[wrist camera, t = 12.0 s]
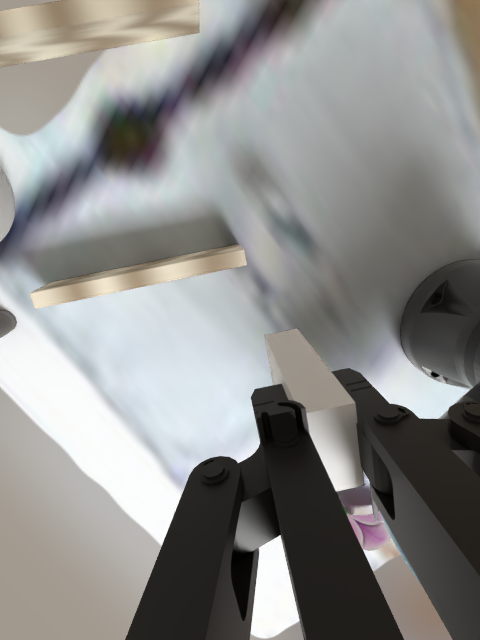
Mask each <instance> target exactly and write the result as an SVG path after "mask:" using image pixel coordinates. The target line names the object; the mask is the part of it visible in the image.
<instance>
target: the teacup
mask: <svg viewBox="0 0 480 640" xmlns="http://www.w3.org/2000/svg"><path fill="white" fill-rule="evenodd" d="M14 216H15V200H14V194H13V191H12V188H11V185H10V183H9V181H8V179H7V177H6V175H5V173H4V172H3V170H2V169H1V168H0V242H1V241H2V240H3V238H4V237H5V236H6V235H7V233H8V232H9V230H10V228H11V226H12V223H13V220H14Z"/></svg>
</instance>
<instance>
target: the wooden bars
mask: <svg viewBox="0 0 480 640" xmlns="http://www.w3.org/2000/svg"><path fill="white" fill-rule="evenodd" d="M194 33H199V0H61V1H55V2H49V3H44V4H38V5H32V6H26V7H20V8H14V9H8V10H2V11H0V67H5V66H11V65H17V64H23V63H28V62H34V61H39V60H45V59H51V58H57V57H63V56H68V55H74V54H80V53H86V52H91V51H97V50H103V49H108V48H114V47H120V46H126V45H131V44H137V43H143V42H148V41H154V40H160V39H166V38H171V37H177V36H183V35H188V34H194ZM245 265H247V263H246V258H245V252H244V249H243V248H242V247H241V246H240V245H239V244H236V245H231V246H226V247H221V248H216V249H211V250H206V251H202V252H197V253H192V254H187V255H182V256H177V257H172V258H167V259H162V260H157V261H153V262H148V263H143V264H138V265H133V266H128V267H123V268H118V269H113V270H108V271H104V272H99V273H94V274H89V275H84V276H79V277H74V278H69V279H64V280H59V281H55V282H50V283H48V284H47V285H45V286H43V287H41V288H39V289H37V290H35V291H33V292H31V293H29V294H30V296H31V299H32V302H33V304H34V307H35V309H37V308H42V307H47V306H52V305H57V304H62V303H66V302H71V301H76V300H81V299H86V298H91V297H95V296H100V295H105V294H110V293H115V292H120V291H124V290H129V289H134V288H139V287H144V286H149V285H153V284H158V283H163V282H168V281H173V280H178V279H182V278H187V277H192V276H197V275H202V274H206V273H211V272H216V271H221V270H226V269H231V268H235V267H240V266H245ZM16 323H17V321H16V318H15V316H14V315H13V314H12V313H10V312H9V311H6V310H0V338H1V337H3V336H4V335H6V334H7V333H9V332H10V331H12V330H13V329H14V328H15V327H16Z"/></svg>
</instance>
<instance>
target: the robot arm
mask: <svg viewBox="0 0 480 640" xmlns="http://www.w3.org/2000/svg"><path fill="white" fill-rule="evenodd" d="M264 336H265V341H266V346H267V352H268V357H269V363H270V368H271V374H272V379H273V386H268V387H263V388H259V389H255V390H254V392H253V394H252V396H251V400H252V405H253V410H254V414H255V419H256V424H257V429H258V434H259V438H260V445H259V448H258V449H257V451H256V452H255V453H254V454H253V455H252V456H251V457H249V458H247V459H246V460H244V461H242V462H240V463H237V461H236V460H234V459H232V458H230V457H223V456H219V457H213V458H210V459H207V460H205V461H203V462H201V463H200V464H199V465H198V466H196V467H195V468H194V469H193V471H192V472H191V474H190V476H189V478H188V481H187V483H186V486H185V488H184V491H183V494H182V496H181V499H180V501H179V504H178V506H177V509H176V511H175V514H174V517H173V519H172V522H171V524H170V527H169V529H168V532H167V534H166V537H165V539H164V542H163V545H162V547H161V550H160V552H159V555H158V557H157V560H156V562H155V565H154V568H153V570H152V573H151V576H150V578H149V581H148V583H147V586H146V588H145V591H144V593H143V596H142V598H141V601H140V604H139V606H138V608H137V611H136V613H135V616H134V619H133V621H132V624H131V626H130V629H129V632H128V635H127V636H126V639H125V640H250V632H251V622H252V613H253V604H254V595H255V586H256V577H257V568H258V559H259V547H260V546H262V545H264V544H266V543H267V542H269V541H271V540H272V539H274V538H276V537H278V536H279V535H281V539H282V543H283V548H284V552H285V557H286V561H287V566H288V570H289V574H290V579H291V583H292V588H293V592H294V597H295V601H296V606H297V610H298V615H299V619H300V624H301V628H302V632H303V637H304V640H404V639H403V636H402V634H401V632H400V630H399V628H398V626H397V623H396V621H395V619H394V617H393V615H392V613H391V610H390V608H389V606H388V604H387V602H386V600H385V597H384V595H383V593H382V591H381V588H380V586H379V584H378V582H377V580H376V578H375V575H374V573H373V571H372V569H371V567H370V565H369V562H368V560H367V558H366V556H365V554H364V551H363V549H362V547H361V545H360V543H359V541H358V538H357V536H356V534H355V532H354V530H353V528H352V525H351V523H350V521H349V519H348V517H347V515H346V512H345V510H344V508H343V506H342V504H341V501H340V499H339V497H338V495H337V493H336V491H341V490H345V489H350V488H354V487H359V486H363V485H364V476H363V471H364V472H365V474H366V476H367V477H368V479H369V481H370V489H371V499H372V508H373V515H374V519H375V521H378V520H379V514H378V510H379V511H380V514H381V517H382V519H383V521H384V523H385V526H386V528H387V530H388V532H389V534H390V536H391V538H392V539H393V541H394V543H395V545H396V547H397V548H398V550H399V552H400V553H401V555H402V557H403V558H404V560H405V562H406V563H407V565H408V566H409V567H410V569H411V571H412V572H413V573H414V575H415V577H416V578H417V579H418V581H419V582H420V584H421V585H422V586H423V588H424V590H425V592H426V593H427V595H428V597H429V599H430V600H431V602H432V604H433V606H434V607H435V609H436V611H437V612H438V614H439V616H440V618H441V620H442V621H443V623H444V625H445V627H446V628H447V630H448V632H449V633H450V635H451V637H452V639H453V640H480V260H463V261H458V262H455V263H452V264H449V265H447V266H445V267H443V268H441V269H439V270H437V271H436V272H434V273H433V274H432V275H430V276H429V277H428V278H427V279H426V280H425V281H424V282H423V283H422V284H421V285H420V286H419V287H418V288H417V289H416V291H415V292H414V294H413V295H412V297H411V298H410V300H409V302H408V304H407V306H406V308H405V311H404V314H403V318H402V323H401V341H402V346H403V349H404V351H405V354H406V356H407V357H408V359H409V360H410V361H411V363H412V364H413V365H414V366H415V367H417V368H418V369H419V370H421V371H422V372H423V373H425V374H426V375H427V376H429V377H431V378H432V379H434V380H437V381H439V382H442V383H446V384H450V385H454V386H458V387H462V388H466V389H470V391H468V392H467V393H466V394H465V395H464V396H462V397H461V398H460V399H459V400H458V401H457V402H456V403H455V404H454V405H452V406H451V407H449V410H448V411H446V412H445V413H444V414H443V415H442V416H441V417H440V418H439V419H419V418H418V417H417V416H416V415H415V414H414V413H413V412H412V411H410V410H409V409H407V408H406V407H403V406H400V405H396V404H389V403H388V402H387V401H386V400H385V398H384V397H383V396H382V395H381V394H380V393H379V392H378V391H377V390H376V389H375V388H374V387H372V385H371V384H370V383H369V382H368V381H367V380H366V379H365V378H364V377H363V375H362V374H361V373H359V372H357V371H354V370H352V369H350V368H347V369H342V370H338V371H333V372H331V371H330V369H329V368H328V367H327V366H326V364H325V363H324V362H323V360H322V359H321V358H320V357H319V355H318V354H317V353H316V351H315V350H314V349H313V348H312V346H311V345H310V344H309V342H308V341H307V340H306V339H305V337H304V336H303V335H302V333H301V332H300V331H299V330H298V328H296V329H292V330H287V331H282V332H277V333H273V334H268V335H264Z"/></svg>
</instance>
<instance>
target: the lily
mask: <svg viewBox="0 0 480 640" xmlns="http://www.w3.org/2000/svg"><path fill="white" fill-rule="evenodd" d="M343 508H344V507H343ZM344 510H345V512H346V514H347V515H348V519H349V521H350V523H351V525H352V528H353V530H354V532H355V534H356V536H357V538H358V541H359V543H360V545H361V547H362V549H364V550H368V551H369V550H375V549H378V548H381V547H383V546H384V545H386V544H387V543H388V542H389V540H390V534H389V532H388V530H387V528H386V526H385V524H384V523H383V522H382V521H383V519H382V517H381V514H380V511H379V510H378V514H379V520H378V521H375V519H374V515H373V514H368V515H350V514H349V513H348V512H347V510H346V509H345V508H344Z"/></svg>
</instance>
